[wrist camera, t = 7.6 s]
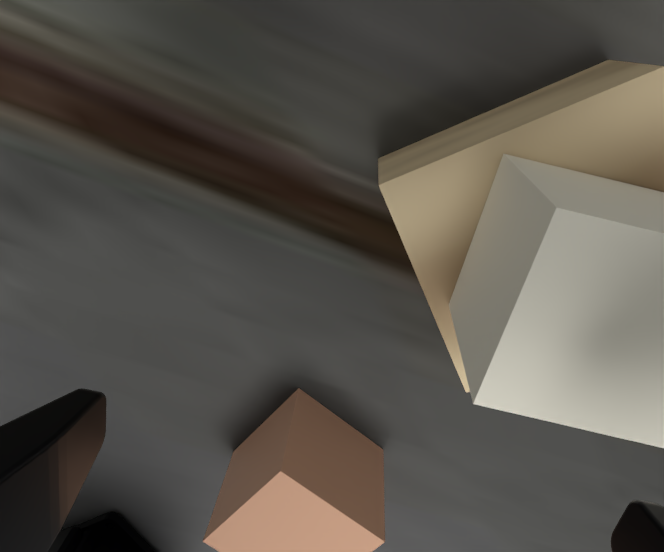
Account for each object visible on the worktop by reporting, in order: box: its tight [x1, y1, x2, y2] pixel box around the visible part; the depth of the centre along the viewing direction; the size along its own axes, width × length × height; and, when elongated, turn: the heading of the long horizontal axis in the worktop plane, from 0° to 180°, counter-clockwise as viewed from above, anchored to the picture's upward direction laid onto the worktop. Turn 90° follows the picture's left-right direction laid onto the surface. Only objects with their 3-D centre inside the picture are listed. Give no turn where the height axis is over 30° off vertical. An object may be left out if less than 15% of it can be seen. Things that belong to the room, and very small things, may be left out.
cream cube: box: [449, 154, 664, 448], centre depth 14 cm, size 5×5×5 cm
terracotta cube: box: [203, 388, 385, 552], centre depth 23 cm, size 5×5×5 cm
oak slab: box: [378, 60, 664, 392], centre depth 18 cm, size 8×8×4 cm
